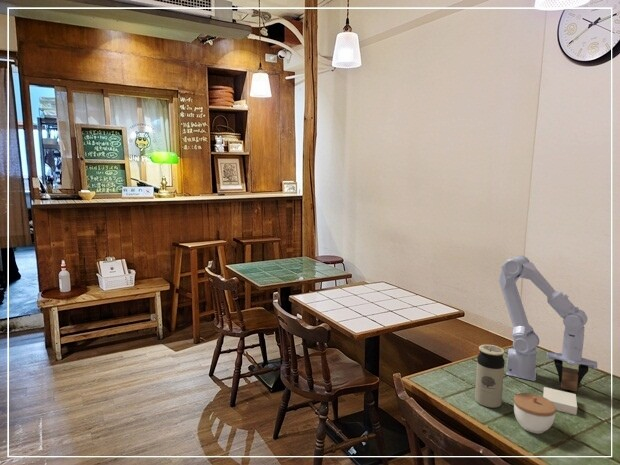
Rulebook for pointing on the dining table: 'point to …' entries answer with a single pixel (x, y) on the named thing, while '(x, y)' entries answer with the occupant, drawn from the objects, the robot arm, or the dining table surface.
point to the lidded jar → (534, 412)
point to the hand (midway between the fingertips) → (568, 382)
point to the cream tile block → (561, 400)
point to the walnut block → (569, 379)
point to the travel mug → (489, 376)
